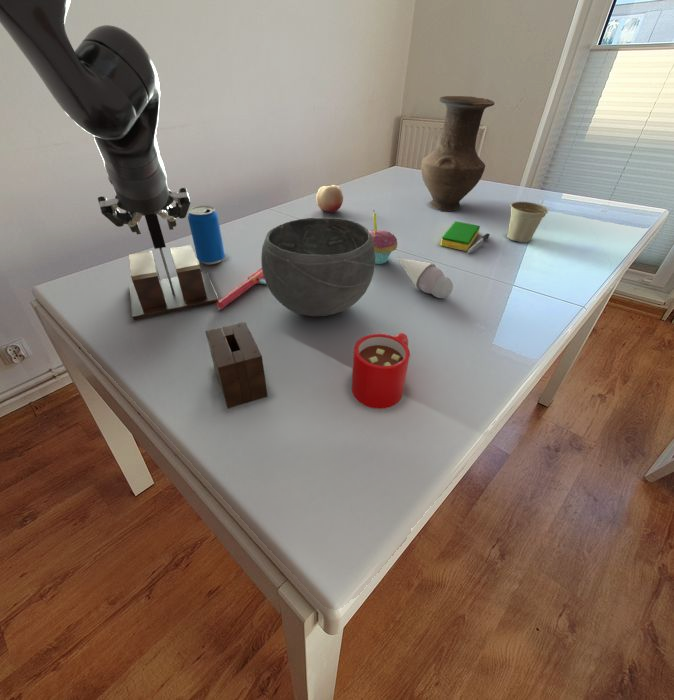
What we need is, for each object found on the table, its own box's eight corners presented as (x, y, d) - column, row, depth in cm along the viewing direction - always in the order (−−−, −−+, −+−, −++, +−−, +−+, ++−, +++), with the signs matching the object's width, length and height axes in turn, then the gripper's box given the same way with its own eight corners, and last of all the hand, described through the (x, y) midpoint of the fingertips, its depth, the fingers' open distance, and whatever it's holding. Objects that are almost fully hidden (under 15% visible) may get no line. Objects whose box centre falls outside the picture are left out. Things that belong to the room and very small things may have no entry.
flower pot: (515, 229, 111) (525, 199, 105) (544, 240, 105) (556, 209, 99) (494, 236, 107) (503, 204, 101) (523, 248, 100) (534, 215, 95)
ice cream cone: (393, 272, 88) (444, 308, 81) (383, 264, 83) (436, 301, 76) (409, 250, 86) (462, 284, 80) (400, 240, 81) (456, 276, 74)
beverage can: (226, 264, 90) (216, 213, 82) (197, 267, 89) (185, 215, 81) (225, 252, 95) (216, 204, 87) (198, 255, 93) (186, 206, 86)
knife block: (227, 409, 55) (217, 367, 50) (215, 370, 61) (205, 330, 56) (267, 396, 57) (262, 355, 52) (251, 360, 63) (245, 321, 58)
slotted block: (133, 321, 71) (118, 282, 66) (130, 289, 80) (117, 253, 75) (219, 303, 77) (211, 266, 71) (207, 275, 86) (199, 240, 80)
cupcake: (357, 265, 91) (360, 215, 83) (364, 250, 97) (367, 203, 90) (393, 269, 89) (399, 219, 82) (397, 254, 96) (403, 206, 88)
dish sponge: (478, 233, 108) (480, 225, 106) (466, 251, 98) (469, 242, 96) (453, 229, 110) (455, 220, 109) (439, 245, 101) (441, 237, 99)
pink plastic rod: (292, 266, 91) (276, 257, 92) (294, 259, 90) (277, 250, 90) (230, 316, 74) (210, 305, 75) (231, 309, 73) (211, 296, 73)
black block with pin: (168, 296, 76) (143, 211, 66) (167, 289, 78) (142, 206, 68) (179, 294, 77) (155, 210, 66) (177, 287, 79) (154, 204, 68)
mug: (422, 370, 62) (430, 331, 57) (387, 416, 54) (394, 376, 49) (379, 352, 65) (384, 314, 60) (341, 394, 57) (343, 354, 52)
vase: (452, 220, 115) (477, 104, 96) (403, 204, 126) (417, 97, 107) (485, 207, 126) (514, 99, 107) (438, 193, 136) (456, 93, 118)
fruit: (332, 205, 124) (333, 179, 119) (347, 212, 119) (348, 186, 114) (312, 209, 121) (311, 183, 116) (325, 217, 115) (325, 190, 110)
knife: (467, 258, 95) (469, 250, 94) (464, 257, 95) (466, 249, 94) (488, 240, 104) (490, 233, 103) (485, 239, 105) (487, 232, 103)
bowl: (380, 288, 82) (387, 220, 73) (356, 345, 67) (361, 268, 57) (290, 274, 87) (286, 208, 77) (248, 324, 71) (236, 249, 62)
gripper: (182, 147, 58) (188, 203, 74) (75, 155, 53) (106, 213, 69) (195, 193, 57) (198, 240, 73) (88, 205, 52) (117, 252, 68)
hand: (154, 227), depth 71 cm, fingers open, 5 cm apart
